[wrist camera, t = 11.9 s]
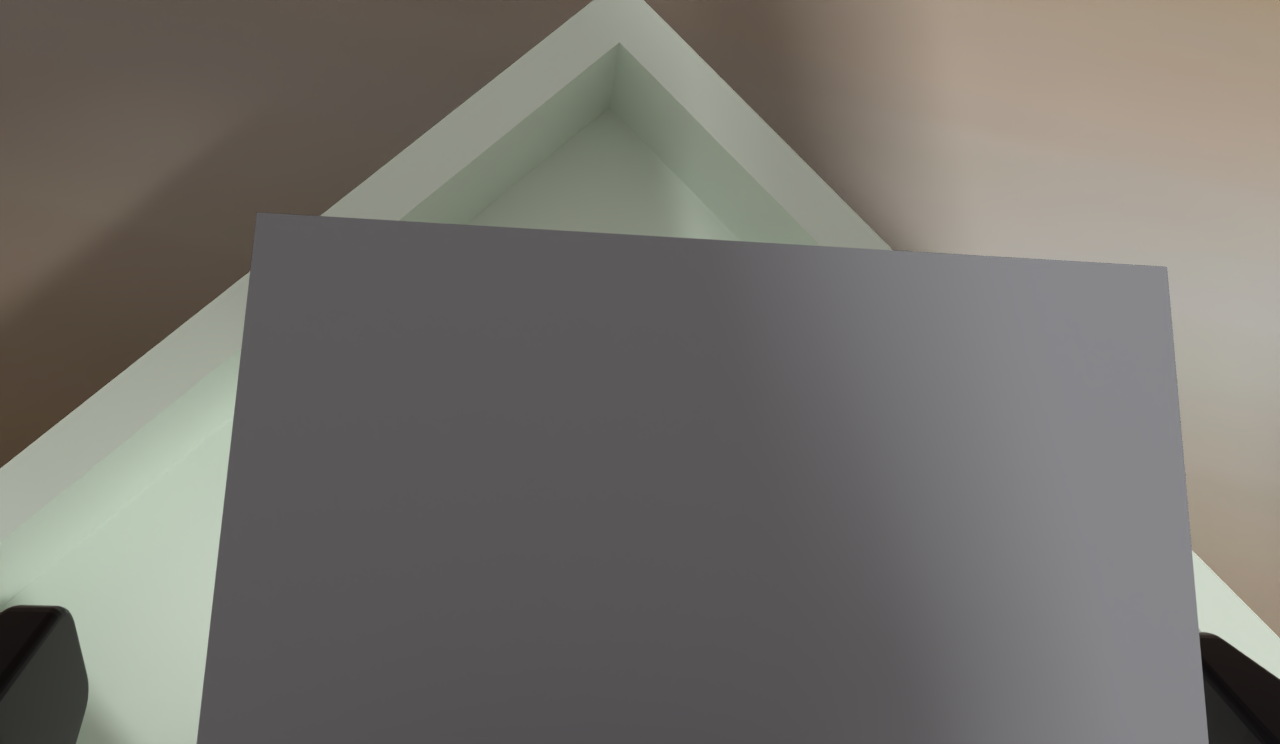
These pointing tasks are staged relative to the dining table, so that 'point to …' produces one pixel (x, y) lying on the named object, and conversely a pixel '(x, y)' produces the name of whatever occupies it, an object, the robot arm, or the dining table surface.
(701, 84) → the tray
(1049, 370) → the white rectangular box
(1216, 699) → the robot arm
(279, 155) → the dining table surface
